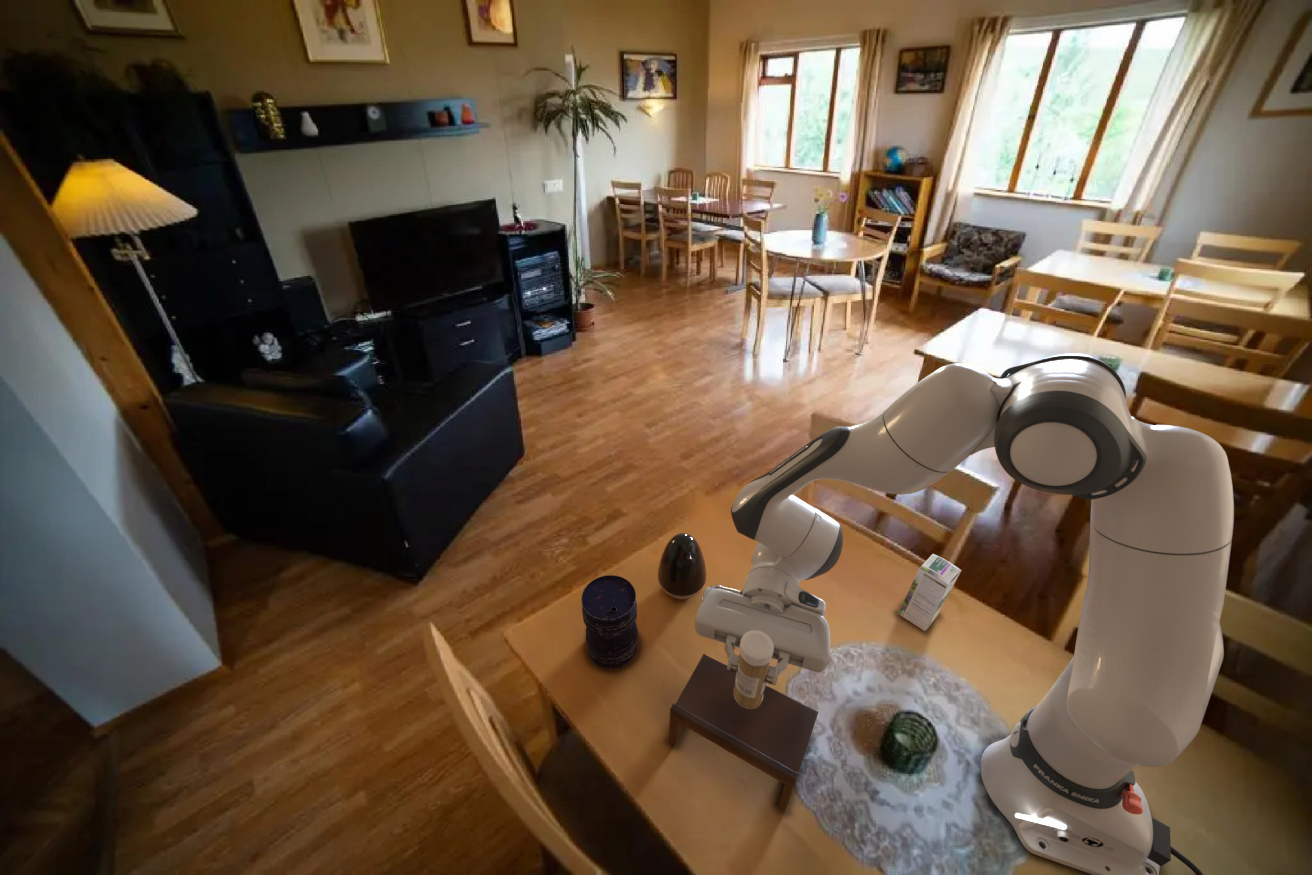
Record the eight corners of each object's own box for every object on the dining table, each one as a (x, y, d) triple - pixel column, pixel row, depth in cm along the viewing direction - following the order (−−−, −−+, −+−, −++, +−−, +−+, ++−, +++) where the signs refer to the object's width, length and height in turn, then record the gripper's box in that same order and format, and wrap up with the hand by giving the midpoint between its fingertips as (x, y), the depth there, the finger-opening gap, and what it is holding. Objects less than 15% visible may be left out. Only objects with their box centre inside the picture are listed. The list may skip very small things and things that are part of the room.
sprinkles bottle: (769, 699, 80) (781, 647, 72) (746, 716, 78) (756, 664, 70) (748, 675, 83) (758, 623, 75) (726, 691, 81) (733, 639, 73)
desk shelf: (809, 739, 88) (820, 706, 82) (785, 811, 80) (796, 780, 74) (701, 682, 97) (704, 647, 90) (669, 741, 88) (670, 708, 82)
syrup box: (910, 598, 112) (931, 551, 103) (938, 616, 108) (962, 568, 100) (897, 614, 108) (917, 566, 100) (926, 633, 105) (949, 585, 96)
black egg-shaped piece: (664, 612, 109) (665, 562, 100) (653, 573, 117) (652, 524, 108) (712, 602, 111) (716, 552, 102) (697, 565, 119) (700, 515, 110)
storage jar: (581, 633, 105) (574, 583, 96) (628, 617, 108) (625, 568, 99) (595, 677, 97) (589, 628, 89) (645, 659, 100) (644, 609, 92)
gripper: (708, 569, 87) (682, 639, 77) (836, 605, 82) (827, 686, 71) (706, 594, 91) (681, 664, 81) (828, 630, 85) (819, 710, 75)
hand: (751, 675), depth 76 cm, fingers closed on sprinkles bottle, 4 cm apart
